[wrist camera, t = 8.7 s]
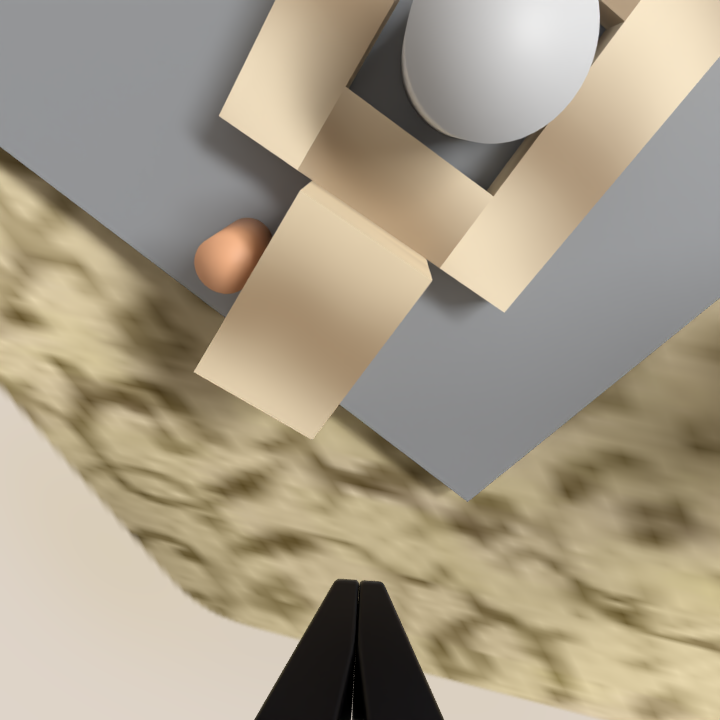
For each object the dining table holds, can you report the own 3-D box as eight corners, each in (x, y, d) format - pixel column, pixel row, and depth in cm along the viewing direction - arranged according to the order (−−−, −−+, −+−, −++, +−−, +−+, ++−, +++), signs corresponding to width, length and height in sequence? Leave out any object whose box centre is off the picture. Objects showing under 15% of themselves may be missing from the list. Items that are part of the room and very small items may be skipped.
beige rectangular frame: (438, -300, 11) (458, -462, 8) (747, -4, 13) (860, -43, 10) (149, 280, 17) (95, 316, 14) (392, 427, 19) (393, 486, 16)
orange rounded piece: (283, 240, 17) (263, 263, 14) (254, 276, 17) (230, 304, 15) (243, 207, 16) (215, 223, 14) (215, 245, 17) (183, 268, 14)
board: (1030, 12, 14) (1345, -42, 10) (463, 482, 22) (484, 581, 17) (472, -943, 9) (564, -2085, 4) (-21, 110, 17) (-181, 105, 12)
